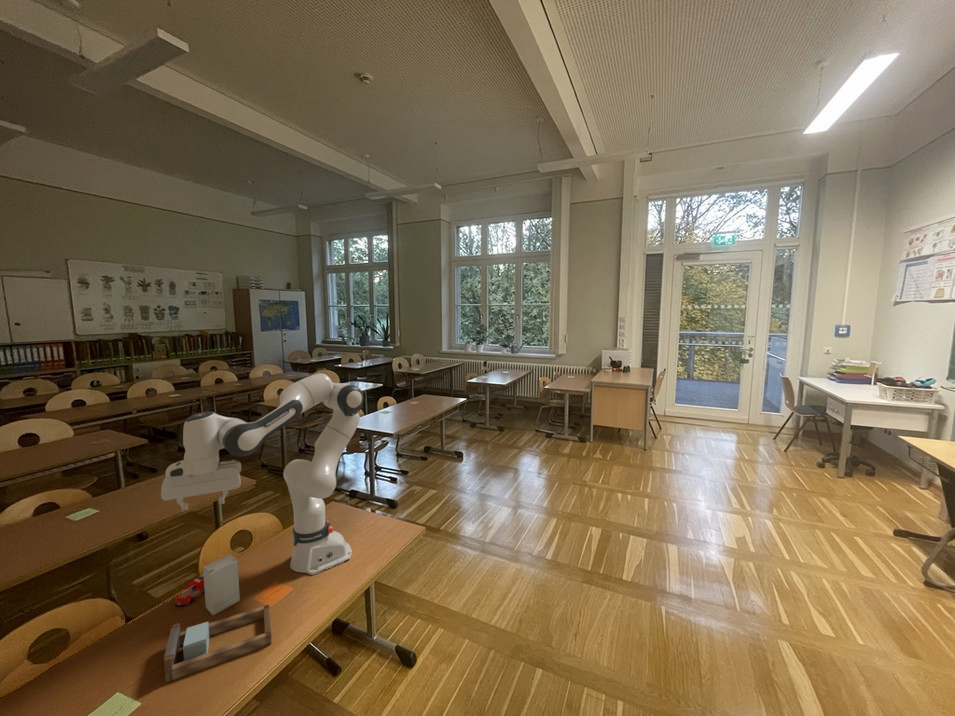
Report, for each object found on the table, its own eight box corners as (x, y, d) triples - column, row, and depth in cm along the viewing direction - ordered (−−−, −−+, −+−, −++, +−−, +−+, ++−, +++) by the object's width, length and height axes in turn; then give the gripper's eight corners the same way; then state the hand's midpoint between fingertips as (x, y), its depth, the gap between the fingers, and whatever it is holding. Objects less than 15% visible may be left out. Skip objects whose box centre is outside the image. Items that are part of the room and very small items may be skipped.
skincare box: (232, 594, 129) (231, 552, 128) (240, 601, 126) (239, 559, 124) (203, 608, 122) (202, 565, 121) (211, 617, 119) (209, 572, 117)
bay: (269, 613, 121) (268, 595, 121) (271, 644, 110) (270, 624, 109) (173, 644, 109) (172, 625, 108) (164, 683, 97) (162, 661, 97)
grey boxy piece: (209, 639, 111) (208, 620, 110) (206, 659, 104) (206, 639, 104) (187, 646, 108) (187, 627, 108) (184, 667, 102) (183, 647, 101)
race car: (186, 608, 122) (185, 597, 122) (171, 607, 123) (170, 595, 122) (218, 581, 135) (217, 570, 135) (203, 579, 136) (203, 569, 136)
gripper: (241, 456, 126) (242, 495, 128) (162, 466, 116) (164, 509, 117) (240, 462, 121) (242, 503, 122) (158, 473, 111) (160, 518, 112)
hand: (203, 506), depth 120 cm, fingers open, 8 cm apart
